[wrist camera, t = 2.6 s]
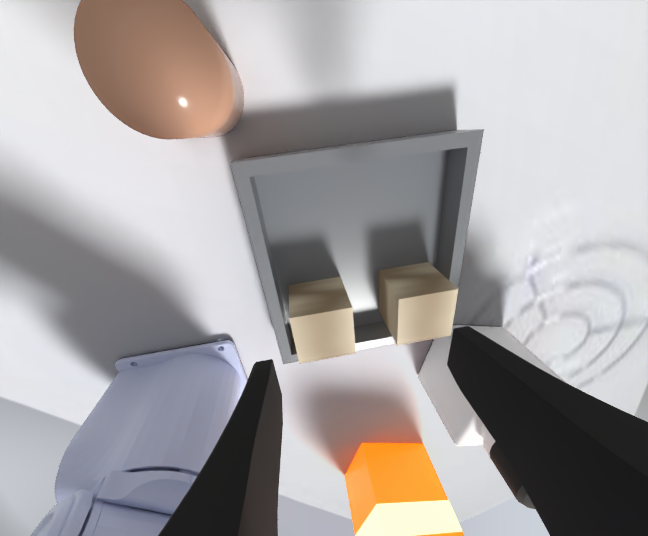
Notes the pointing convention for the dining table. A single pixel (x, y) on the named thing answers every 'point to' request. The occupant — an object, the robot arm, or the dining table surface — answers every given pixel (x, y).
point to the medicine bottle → (458, 410)
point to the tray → (357, 219)
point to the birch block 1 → (321, 319)
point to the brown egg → (157, 68)
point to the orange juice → (398, 493)
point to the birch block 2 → (416, 302)
